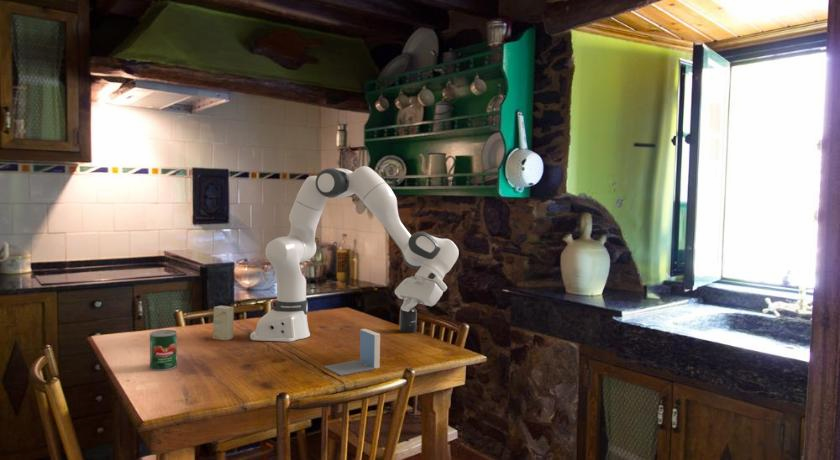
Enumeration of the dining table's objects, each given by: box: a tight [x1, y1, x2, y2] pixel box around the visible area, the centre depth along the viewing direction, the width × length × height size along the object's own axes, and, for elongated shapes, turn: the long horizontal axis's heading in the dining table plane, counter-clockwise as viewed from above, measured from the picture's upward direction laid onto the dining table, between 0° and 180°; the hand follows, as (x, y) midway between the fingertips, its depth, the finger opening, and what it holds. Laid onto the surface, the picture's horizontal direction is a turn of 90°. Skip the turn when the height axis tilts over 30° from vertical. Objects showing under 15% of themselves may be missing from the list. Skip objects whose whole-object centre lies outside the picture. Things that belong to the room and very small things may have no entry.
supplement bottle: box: [399, 306, 418, 334], centre depth 243 cm, size 7×7×12 cm
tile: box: [359, 328, 381, 370], centre depth 196 cm, size 2×9×11 cm, turn 37°
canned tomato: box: [149, 329, 178, 372], centre depth 189 cm, size 8×8×11 cm
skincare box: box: [212, 305, 234, 341], centre depth 226 cm, size 6×4×12 cm
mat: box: [323, 359, 375, 377], centre depth 191 cm, size 12×11×1 cm
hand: (404, 310), depth 203 cm, fingers closed
